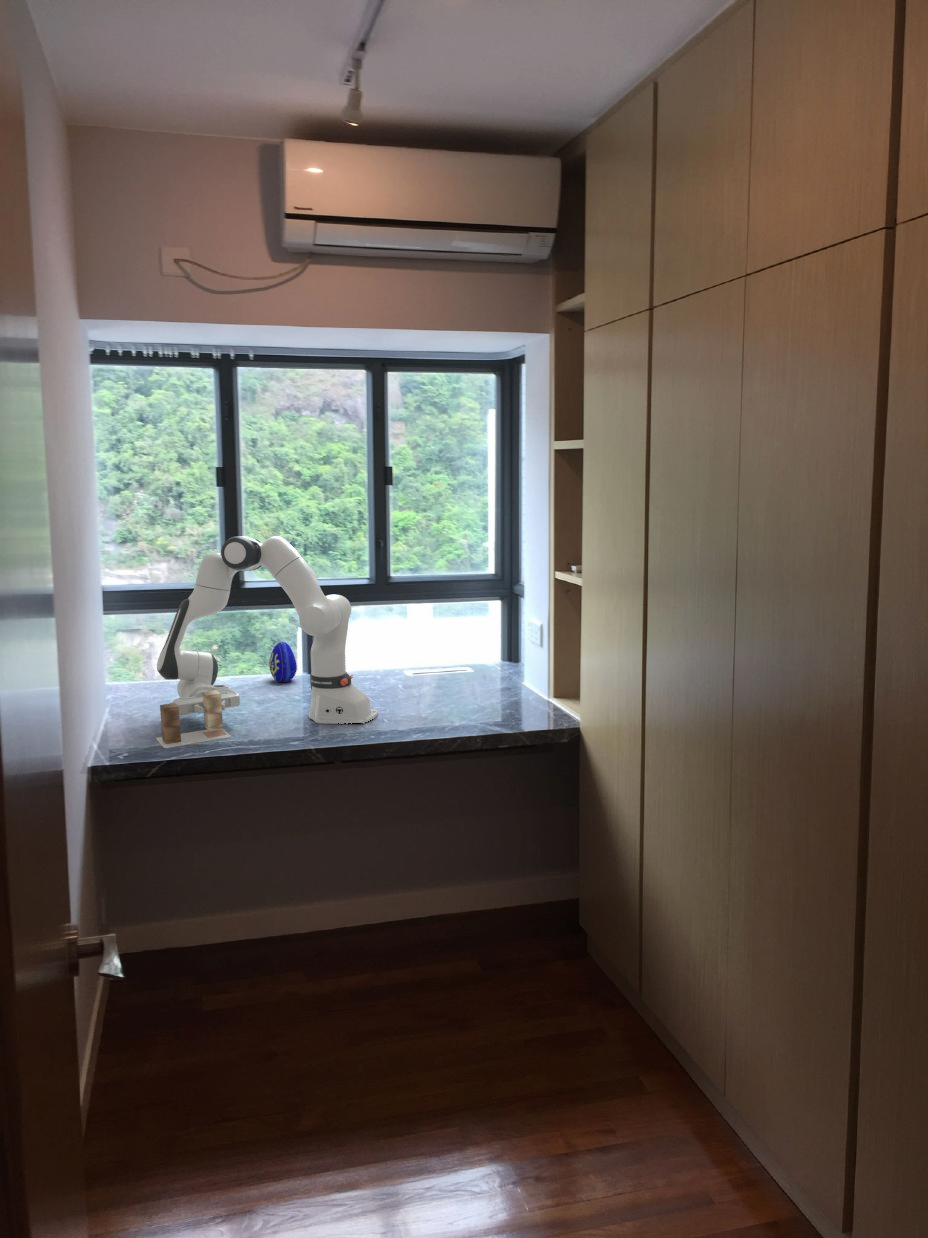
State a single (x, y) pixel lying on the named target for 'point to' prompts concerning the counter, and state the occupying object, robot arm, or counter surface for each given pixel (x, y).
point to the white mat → (197, 737)
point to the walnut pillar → (170, 723)
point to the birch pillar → (213, 710)
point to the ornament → (282, 663)
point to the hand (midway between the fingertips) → (213, 709)
